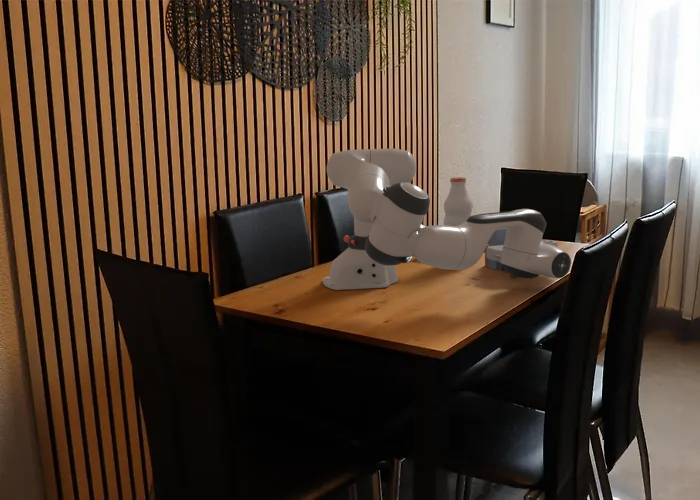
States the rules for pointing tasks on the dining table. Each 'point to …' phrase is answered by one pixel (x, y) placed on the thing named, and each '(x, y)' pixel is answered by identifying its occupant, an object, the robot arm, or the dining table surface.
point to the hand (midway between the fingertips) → (507, 246)
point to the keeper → (497, 240)
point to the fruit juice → (457, 203)
